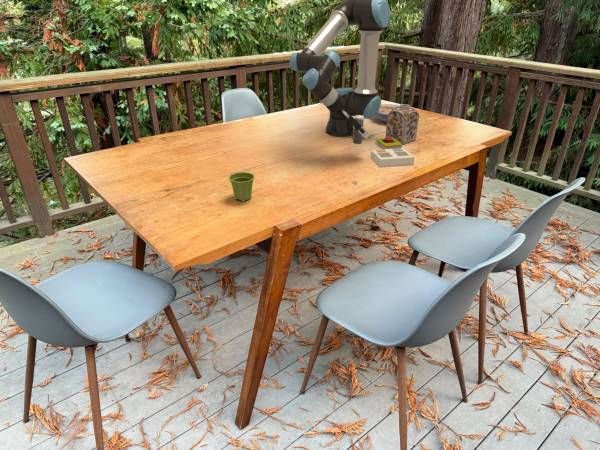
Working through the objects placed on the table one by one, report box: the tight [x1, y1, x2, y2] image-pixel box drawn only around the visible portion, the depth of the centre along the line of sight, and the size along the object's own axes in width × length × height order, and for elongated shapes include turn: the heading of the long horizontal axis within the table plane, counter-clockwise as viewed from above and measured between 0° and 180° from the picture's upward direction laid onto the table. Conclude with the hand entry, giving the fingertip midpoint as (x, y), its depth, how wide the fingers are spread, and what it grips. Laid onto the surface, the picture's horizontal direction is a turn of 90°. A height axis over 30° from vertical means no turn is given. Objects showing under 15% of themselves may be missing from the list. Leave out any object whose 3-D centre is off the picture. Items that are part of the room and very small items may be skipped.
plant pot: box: [228, 171, 256, 201], centre depth 154 cm, size 9×9×9 cm
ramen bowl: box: [375, 103, 402, 124], centre depth 242 cm, size 25×23×8 cm
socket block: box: [370, 147, 416, 168], centre depth 189 cm, size 12×16×4 cm
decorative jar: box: [384, 103, 420, 146], centre depth 211 cm, size 12×12×18 cm
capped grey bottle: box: [352, 115, 365, 145], centre depth 185 cm, size 4×4×12 cm
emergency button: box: [374, 137, 403, 149], centre depth 205 cm, size 9×4×15 cm
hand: (365, 135), depth 187 cm, fingers closed on capped grey bottle, 4 cm apart
